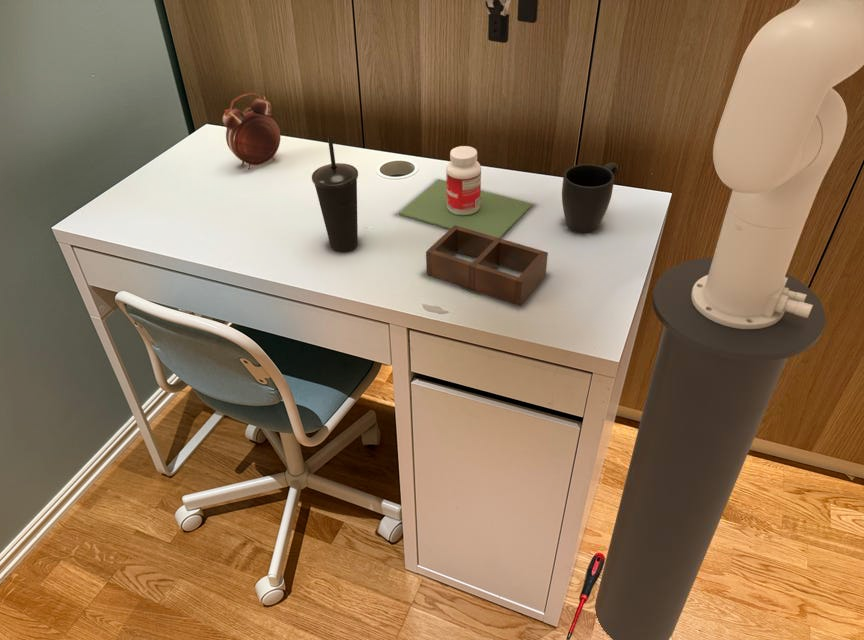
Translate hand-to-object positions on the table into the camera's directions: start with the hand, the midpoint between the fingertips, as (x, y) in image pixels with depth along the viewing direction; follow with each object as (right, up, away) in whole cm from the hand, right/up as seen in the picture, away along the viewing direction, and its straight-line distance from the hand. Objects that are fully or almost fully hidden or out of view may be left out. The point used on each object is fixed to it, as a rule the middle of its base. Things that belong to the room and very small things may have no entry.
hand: (512, 31), depth 112 cm
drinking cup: (-27, -32, +14) cm, 44 cm away
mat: (-5, -24, +19) cm, 31 cm away
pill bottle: (-6, -24, +19) cm, 31 cm away
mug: (+16, -27, +14) cm, 34 cm away
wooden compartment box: (-4, -38, +4) cm, 38 cm away
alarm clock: (-47, -10, +39) cm, 62 cm away
